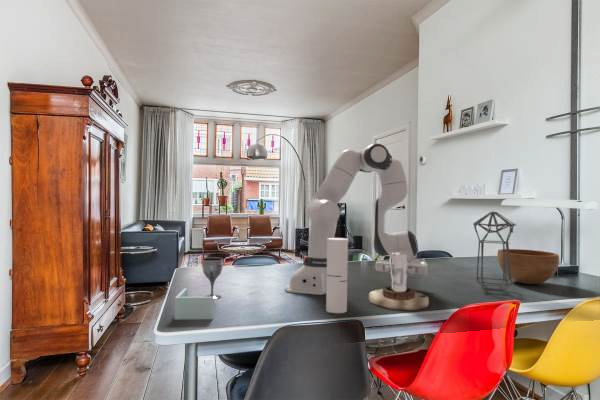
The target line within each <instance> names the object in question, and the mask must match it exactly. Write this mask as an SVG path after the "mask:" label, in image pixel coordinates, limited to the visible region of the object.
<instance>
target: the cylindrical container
mask: <svg viewBox="0 0 600 400" xmlns="http://www.w3.org/2000/svg"><path fill="white" fill-rule="evenodd" d="M348 241H349V239H348V238H345V237H334V238H327V290H326V294H325V295H326V299H325V301H326V302H325V303H326V304H325V311H326V312H327V313H331V314H332V313H333V314H344V313H346V312H347V311H348V258H349V257H348V250H349V249H348V245H349V244H348V243H349V242H348Z"/></svg>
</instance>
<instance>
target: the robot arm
mask: <svg viewBox="0 0 600 400" xmlns="http://www.w3.org/2000/svg"><path fill="white" fill-rule="evenodd" d="M358 172H362V173H372V172H375V173H377V175H378V177H379V179H380V180H379V181H380V186H381V188H380V191H381V192H380V195H379V197H378V198H376V200H375V205H374V207H375V208H374V236H373V237H374V238H373V249H374V252H375V253H376V254H377V255H379V256H381V257H386V256H390V253H391V252H405V253H408V270H407V277H408V276H409V277H410V276H428V273H429V272H428V271H429V269H428V268H429V267H428V265H429V264H428V262H427V261H426V259H425V258H421V257H417V254H418V253H419V245H418V244H419V243H418V239H417V237H416V235H415V234H414V233H413V232H412V231H410V230H402V231H395V232H388V233H387V232H385V223H386V221H385V219H386V217H385V215H386V213H387V211H388V210H389V209H392V208H393V207H395V206H397V205H398V204H400V203H401V202H403V201H404V200H405V198H406V197H407V194H408V183H407V178H406V173H405V170H404V167H403V165H402V162H401V161H400V160H398V159H394V158H393V156H392V155H391V153H390V152H389V150H388V148H387V147H386V146H385V145H384V144H382V143H371V144H369V145H368V146H367V147H364V148H363V149H362V150H360V151H359V152H357V151H356V150H353V149H345V150H343V151H342V152H341V153H340V154H339V155H338V157H337V158H336V160H335V161H334V163H333V164H332V166H331V168H330V170H329V172H328V173H327V175H326V176H325V179H324V180H323V182H322V184H321V185H320V186H319V188H318V189H317V191H316V192H315V194H314V195H313V196H312V198H311V200H310V202H309V203H308V204H307V206H306V207H305V215H306V218H307V219H308V221H310V222H311V226H310V231H309V236H308V244H307V245H308V250H307V251H308V253H307V254H308V255H304V256H303V257H302V260H303V265H301V266H300V267H299V268H297V270H295V271H294V272H292V274H291V277H290V280H289V283H286V284H285V287H284V291H285V292H287V293H294V294H295V293H296V294H307V295H319V296H321V295H326V290H327V238H336V237H335V235H336V232H337V231H336V230H337V224H338V221H339V218H340V215H341V211H340V207H339V206H338V204H339V203H340V201H341V200H342V199H343V198H344V197H345V196H346V194H347V192H348V191H349V189H350V187H351V186H352V183H353V181H354V180H355V177H356V176H357V174H358ZM374 265H375V266H374V267H375V268H374V269H375V271H377V272H383V273H385V272H386V273H390V260H382V259H380V260H377V261H376V262H375V264H374Z"/></svg>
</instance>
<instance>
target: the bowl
mask: <svg viewBox="0 0 600 400" xmlns="http://www.w3.org/2000/svg"><path fill="white" fill-rule="evenodd" d="M496 256H497V262H498V265H499V267H500V269H501V270H502V271H503V248H502V249H501V248H500V249H498V250H497V255H496ZM509 258H510V270H511V280H513V282H514V281H515V282H516V283H520V284H523V285H538V284H542V283H544V282H547V281H548V280H549V279H551V278H552V277H553V276H554V275H555V274H556V273H557V270H558V268H559V266H560V265H559V264H560V255H559V254H557V253H556V252H552V251H551V252H550V251H543V250H542V251H541V250H533V249H519V248H509ZM505 259H506V274H507V277H508V265H507V253H506V248H505ZM504 271H505V266H504Z"/></svg>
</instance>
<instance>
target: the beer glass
mask: <svg viewBox="0 0 600 400" xmlns="http://www.w3.org/2000/svg"><path fill="white" fill-rule="evenodd" d="M389 261H390V272H389V273H390V278H391V286H392V287H391V291H393V292H403V293H406V292H407V288H406V287H407V278H408V276H407V270H408V253H405V252H391V253H390V255H389Z"/></svg>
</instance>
